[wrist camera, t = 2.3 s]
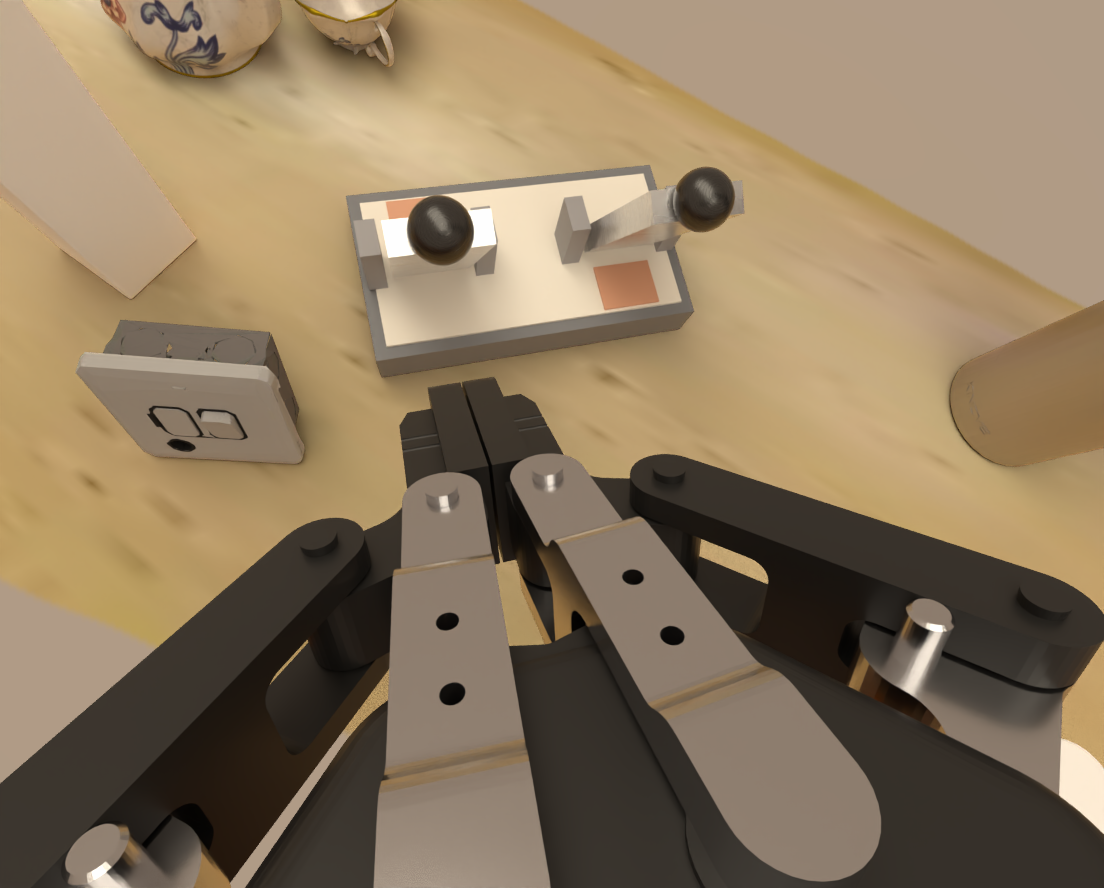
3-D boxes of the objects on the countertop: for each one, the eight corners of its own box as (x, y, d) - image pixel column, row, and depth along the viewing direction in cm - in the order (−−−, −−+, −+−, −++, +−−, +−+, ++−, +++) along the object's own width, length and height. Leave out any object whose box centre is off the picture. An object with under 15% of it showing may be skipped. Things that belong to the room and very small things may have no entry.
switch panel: (638, 190, 48) (669, 122, 41) (678, 329, 45) (719, 281, 38) (353, 222, 43) (333, 151, 36) (381, 377, 41) (366, 333, 34)
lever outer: (463, 231, 39) (494, 182, 26) (471, 278, 40) (505, 254, 26) (385, 241, 38) (375, 194, 25) (395, 289, 39) (390, 269, 25)
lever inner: (648, 209, 42) (763, 154, 28) (653, 254, 42) (767, 221, 29) (580, 217, 41) (666, 164, 27) (585, 263, 41) (672, 233, 28)
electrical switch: (148, 457, 37) (57, 397, 29) (167, 382, 39) (87, 304, 30) (306, 466, 39) (265, 411, 30) (317, 393, 40) (281, 321, 32)
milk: (60, 249, 40) (-402, -148, 18) (130, 188, 41) (-219, -237, 20) (133, 302, 39) (-247, -35, 18) (200, 239, 41) (-77, -136, 20)
